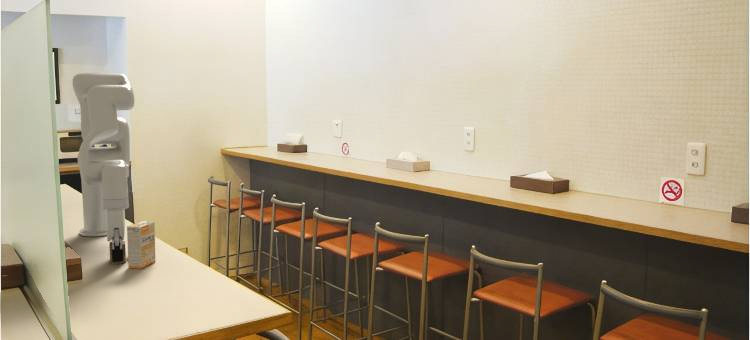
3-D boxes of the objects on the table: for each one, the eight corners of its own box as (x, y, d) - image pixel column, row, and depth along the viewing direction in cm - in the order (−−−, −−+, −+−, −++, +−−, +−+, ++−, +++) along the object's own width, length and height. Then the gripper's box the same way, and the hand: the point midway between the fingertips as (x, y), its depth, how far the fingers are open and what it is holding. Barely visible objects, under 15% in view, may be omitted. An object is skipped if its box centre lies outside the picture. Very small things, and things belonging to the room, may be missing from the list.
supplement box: (142, 269, 194) (140, 227, 192) (127, 268, 195) (126, 226, 193) (156, 261, 202) (155, 221, 200) (142, 260, 203) (141, 220, 201)
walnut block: (110, 260, 203) (109, 241, 202) (125, 258, 204) (125, 240, 203) (110, 264, 199) (109, 245, 198) (125, 262, 200) (125, 244, 199)
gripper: (103, 198, 205) (105, 251, 208) (101, 209, 189) (104, 266, 192) (128, 197, 208) (130, 249, 211) (128, 208, 192) (131, 264, 195)
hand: (118, 257), depth 201 cm, fingers open, 8 cm apart
